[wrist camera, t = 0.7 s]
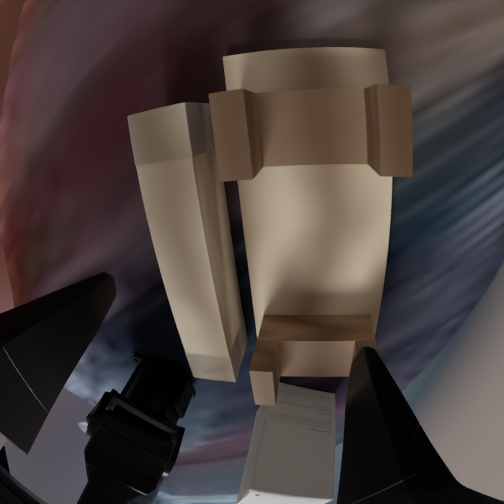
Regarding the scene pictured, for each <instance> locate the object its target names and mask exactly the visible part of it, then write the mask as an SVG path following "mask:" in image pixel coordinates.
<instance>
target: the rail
mask: <svg viewBox="0 0 504 504" xmlns="http://www.w3.org/2000/svg"><path fill="white" fill-rule="evenodd" d="M127 117H128V124H129V131H130V137H131V143H132V149H133V155H134V161H135V166H136V168H137V173H138V178H139V183H140V188H141V193H142V198H143V203H144V207H145V212H146V216H147V220H148V225H149V229H150V233H151V237H152V241H153V245H154V249H155V253H156V257H157V261H158V264H159V268H160V272H161V275H162V279H163V283H164V286H165V289H166V293H167V296H168V300H169V303H170V306H171V310H172V313H173V316H174V319H175V322H176V325H177V328H178V332H179V335H180V338H181V341H182V344H183V346H184V349H185V354H186V357H187V360H188V362H189V365H190V368H191V371H192V373H193V376H194V377H196V378H203V379H211V380H220V381H230V382H236V379H237V376H238V373H239V369H240V366H241V362H242V359H243V355H244V352H245V349H246V345H247V342H248V339H247V333H246V327H245V320H244V316H243V311H242V304H241V298H240V291H239V285H238V278H237V271H236V265H235V258H234V251H233V244H232V237H231V230H230V223H229V216H228V209H227V202H226V194H225V187H224V182H220V180H219V172H218V165H217V158H216V150H215V142H214V135H213V127H212V119H211V111H210V103H192V102H184V103H179V104H174V105H170V106H165V107H161V108H157V109H153V110H149V111H145V112H141V113H137V114H134V115H130V116H127Z"/></svg>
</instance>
